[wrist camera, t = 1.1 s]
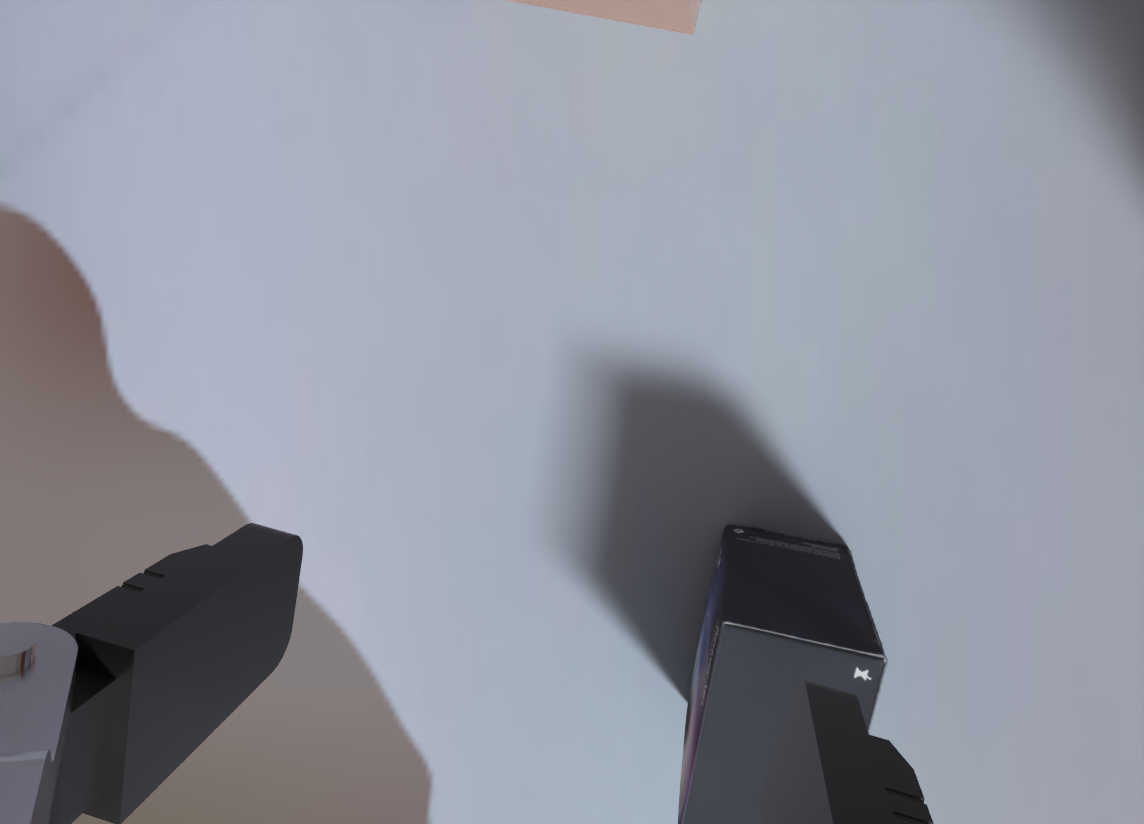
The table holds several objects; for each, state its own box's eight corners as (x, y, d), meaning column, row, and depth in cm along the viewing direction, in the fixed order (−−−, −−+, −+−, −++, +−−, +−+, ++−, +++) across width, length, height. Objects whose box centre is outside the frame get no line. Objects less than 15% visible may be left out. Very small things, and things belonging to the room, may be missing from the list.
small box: (717, 518, 40) (715, 616, 30) (853, 544, 39) (898, 653, 29) (681, 706, 43) (668, 855, 33) (808, 735, 42) (835, 896, 32)
